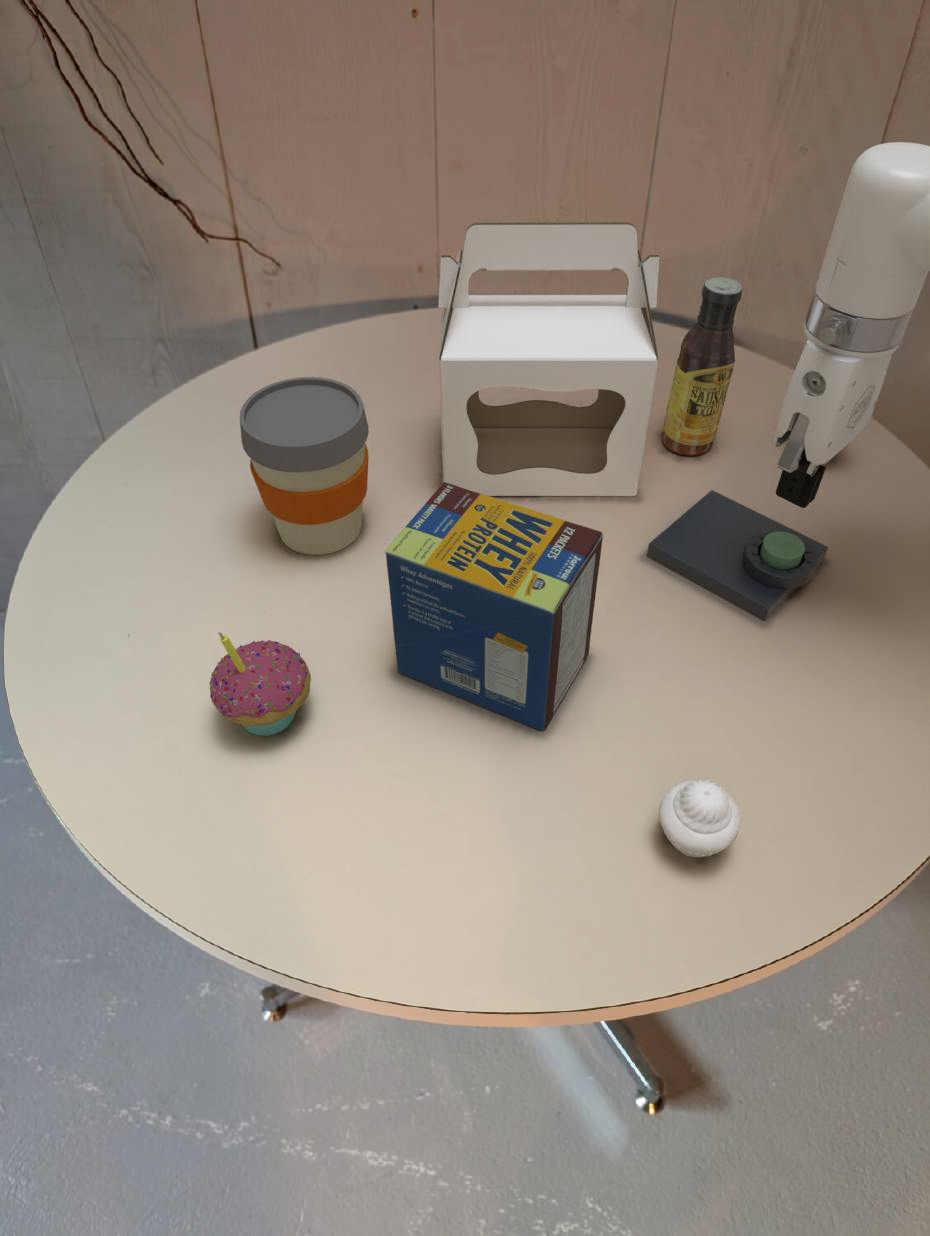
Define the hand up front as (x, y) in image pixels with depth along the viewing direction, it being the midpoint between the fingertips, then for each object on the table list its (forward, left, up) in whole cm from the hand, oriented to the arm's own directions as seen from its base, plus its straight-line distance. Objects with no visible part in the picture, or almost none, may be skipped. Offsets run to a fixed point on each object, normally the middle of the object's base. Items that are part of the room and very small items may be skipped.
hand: (794, 497), depth 85 cm
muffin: (-11, +31, -11) cm, 34 cm away
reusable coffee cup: (+40, +26, -11) cm, 49 cm away
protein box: (+13, +28, -11) cm, 33 cm away
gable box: (+30, +1, -11) cm, 32 cm away
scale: (+4, 0, -11) cm, 11 cm away
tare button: (0, 0, -7) cm, 7 cm away
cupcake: (+24, +46, -11) cm, 53 cm away
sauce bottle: (+19, -14, -11) cm, 26 cm away
